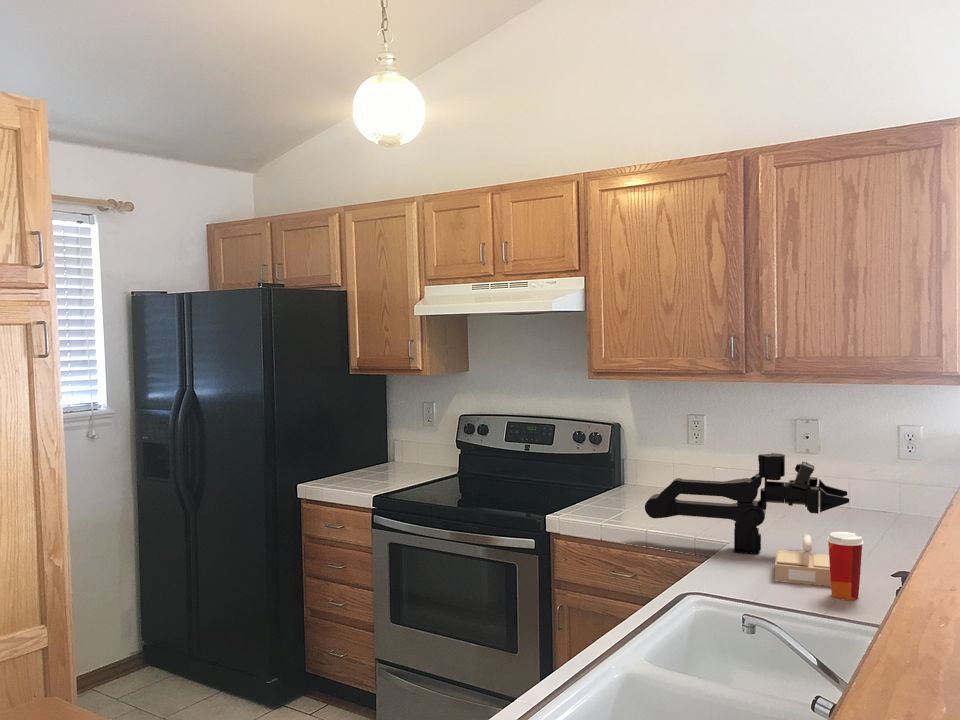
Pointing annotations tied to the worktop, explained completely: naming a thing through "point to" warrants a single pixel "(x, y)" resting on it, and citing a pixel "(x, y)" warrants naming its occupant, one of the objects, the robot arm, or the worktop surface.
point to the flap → (796, 553)
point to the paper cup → (845, 564)
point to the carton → (805, 571)
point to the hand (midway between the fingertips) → (848, 496)
